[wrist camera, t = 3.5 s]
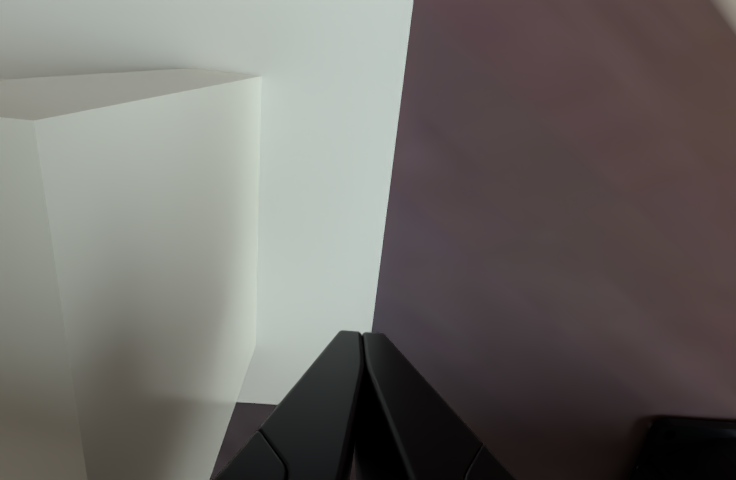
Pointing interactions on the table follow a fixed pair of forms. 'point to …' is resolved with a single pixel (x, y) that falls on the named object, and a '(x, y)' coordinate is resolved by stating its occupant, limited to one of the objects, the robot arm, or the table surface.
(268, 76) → the mat
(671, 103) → the table surface
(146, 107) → the tile
